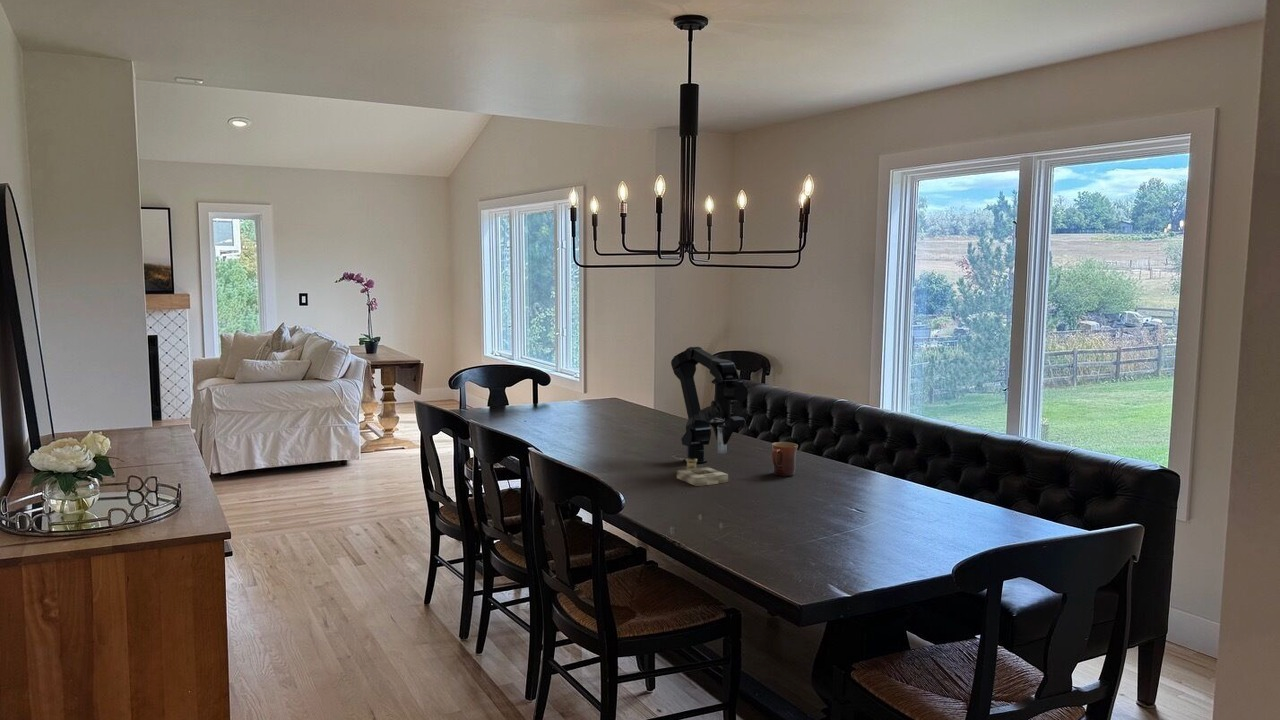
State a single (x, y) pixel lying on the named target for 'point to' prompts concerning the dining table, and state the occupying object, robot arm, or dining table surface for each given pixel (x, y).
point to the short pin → (691, 463)
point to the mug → (784, 458)
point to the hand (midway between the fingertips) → (721, 443)
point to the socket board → (702, 476)
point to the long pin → (720, 441)
